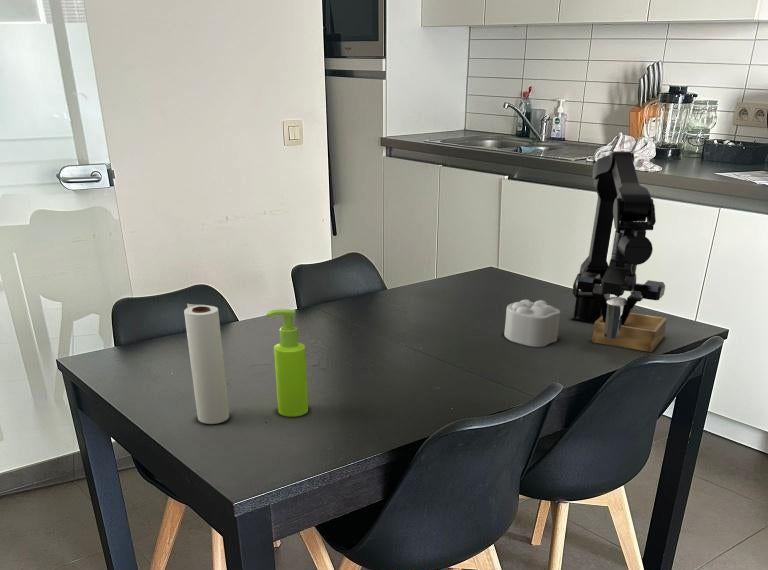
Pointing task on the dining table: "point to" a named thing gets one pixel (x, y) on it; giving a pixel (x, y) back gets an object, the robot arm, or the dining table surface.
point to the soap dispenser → (290, 368)
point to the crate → (633, 332)
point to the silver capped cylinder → (614, 316)
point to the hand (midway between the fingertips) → (613, 323)
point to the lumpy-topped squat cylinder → (532, 323)
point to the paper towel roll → (207, 363)
